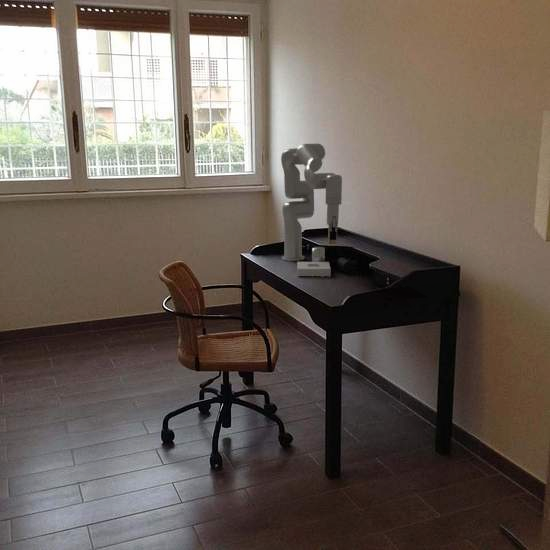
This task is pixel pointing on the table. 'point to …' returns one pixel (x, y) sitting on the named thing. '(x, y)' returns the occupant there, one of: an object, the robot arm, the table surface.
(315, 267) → the socket block
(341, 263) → the end cap
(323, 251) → the grey block
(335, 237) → the robot arm
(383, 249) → the table surface
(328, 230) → the square peg
